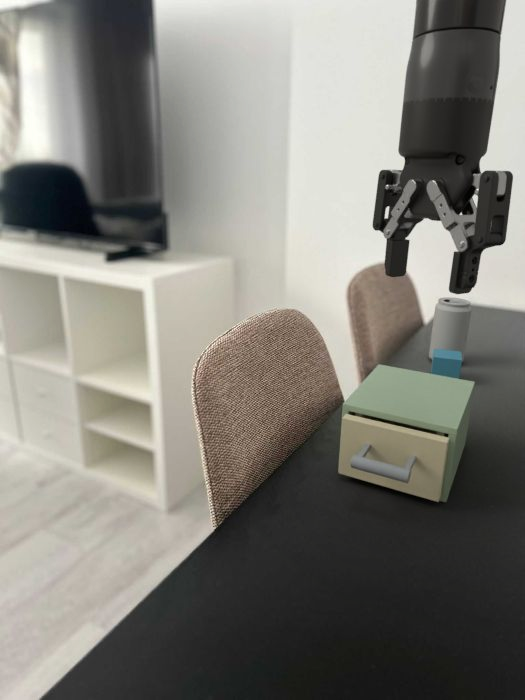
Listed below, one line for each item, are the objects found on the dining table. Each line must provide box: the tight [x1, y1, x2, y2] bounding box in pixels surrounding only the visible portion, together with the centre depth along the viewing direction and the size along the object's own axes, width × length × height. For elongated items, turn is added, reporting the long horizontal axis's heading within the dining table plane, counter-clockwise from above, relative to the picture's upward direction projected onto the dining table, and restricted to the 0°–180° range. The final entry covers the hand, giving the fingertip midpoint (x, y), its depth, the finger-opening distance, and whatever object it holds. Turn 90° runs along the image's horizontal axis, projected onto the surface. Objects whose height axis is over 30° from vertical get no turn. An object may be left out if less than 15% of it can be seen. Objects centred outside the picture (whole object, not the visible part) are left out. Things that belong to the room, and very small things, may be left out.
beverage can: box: [428, 296, 472, 363], centre depth 97 cm, size 6×6×12 cm
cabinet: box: [337, 364, 476, 503], centre depth 64 cm, size 15×13×9 cm
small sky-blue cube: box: [430, 349, 463, 379], centre depth 89 cm, size 5×5×5 cm
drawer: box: [338, 413, 449, 503], centre depth 60 cm, size 18×11×7 cm, turn 152°
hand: (425, 283), depth 50 cm, fingers open, 8 cm apart
